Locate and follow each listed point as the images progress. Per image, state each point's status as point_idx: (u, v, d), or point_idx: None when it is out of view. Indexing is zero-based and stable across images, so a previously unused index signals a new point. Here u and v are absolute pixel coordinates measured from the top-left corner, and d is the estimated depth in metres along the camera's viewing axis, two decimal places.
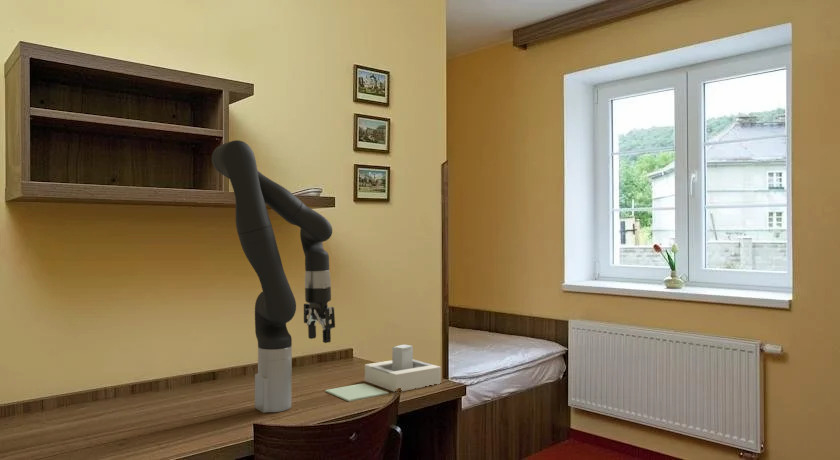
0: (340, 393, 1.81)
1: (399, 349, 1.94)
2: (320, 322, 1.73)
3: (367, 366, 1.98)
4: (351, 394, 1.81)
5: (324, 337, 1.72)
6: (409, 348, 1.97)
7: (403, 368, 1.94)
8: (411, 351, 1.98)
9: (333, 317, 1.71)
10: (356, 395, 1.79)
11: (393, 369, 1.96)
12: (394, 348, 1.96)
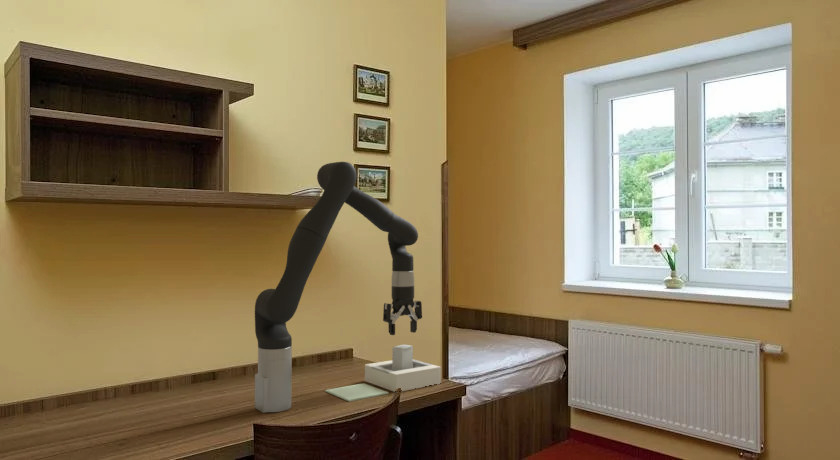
0: (340, 393, 1.81)
1: (399, 349, 1.94)
2: (414, 315, 1.98)
3: (367, 366, 1.98)
4: (351, 394, 1.81)
5: (415, 327, 2.00)
6: (409, 348, 1.97)
7: (403, 368, 1.94)
8: (411, 351, 1.98)
9: None
10: (356, 395, 1.79)
11: (393, 369, 1.96)
12: (394, 348, 1.96)
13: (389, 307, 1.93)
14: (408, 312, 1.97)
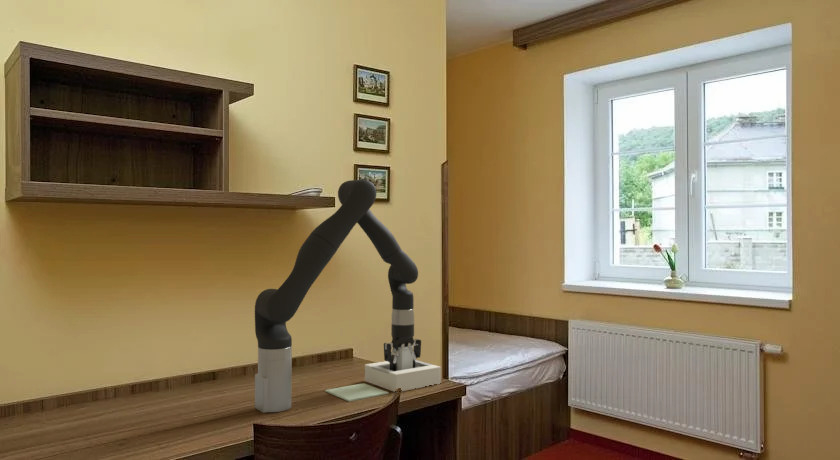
0: (340, 393, 1.81)
1: None
2: (413, 354, 1.98)
3: (367, 366, 1.98)
4: (351, 394, 1.81)
5: (413, 366, 1.99)
6: (409, 348, 1.97)
7: (403, 368, 1.94)
8: None
9: None
10: (356, 395, 1.79)
11: None
12: (394, 348, 1.96)
13: (389, 347, 1.93)
14: None
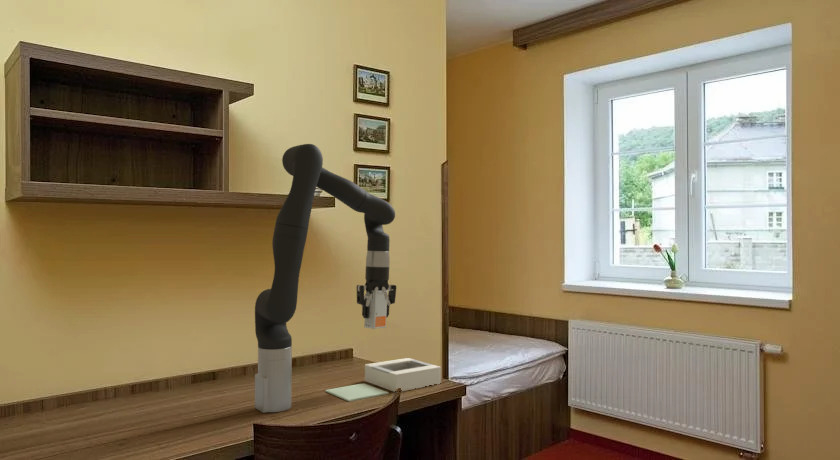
0: (340, 393, 1.81)
1: (373, 292, 1.87)
2: (387, 298, 1.91)
3: (367, 366, 1.98)
4: (351, 394, 1.81)
5: (387, 312, 1.91)
6: (383, 292, 1.89)
7: (376, 312, 1.87)
8: None
9: None
10: (356, 395, 1.79)
11: None
12: (368, 291, 1.88)
13: (362, 289, 1.85)
14: None
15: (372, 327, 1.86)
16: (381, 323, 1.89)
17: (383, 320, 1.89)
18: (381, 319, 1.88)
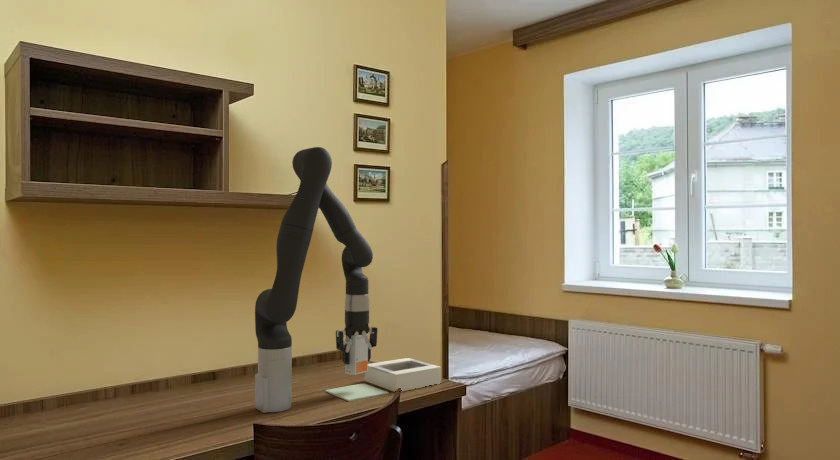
0: (340, 393, 1.81)
1: None
2: (368, 342, 1.85)
3: None
4: (351, 394, 1.81)
5: None
6: (364, 336, 1.84)
7: (357, 357, 1.81)
8: None
9: None
10: (356, 395, 1.79)
11: None
12: (347, 336, 1.82)
13: (341, 335, 1.79)
14: None
15: (353, 373, 1.81)
16: (362, 368, 1.83)
17: (364, 365, 1.84)
18: (362, 364, 1.83)
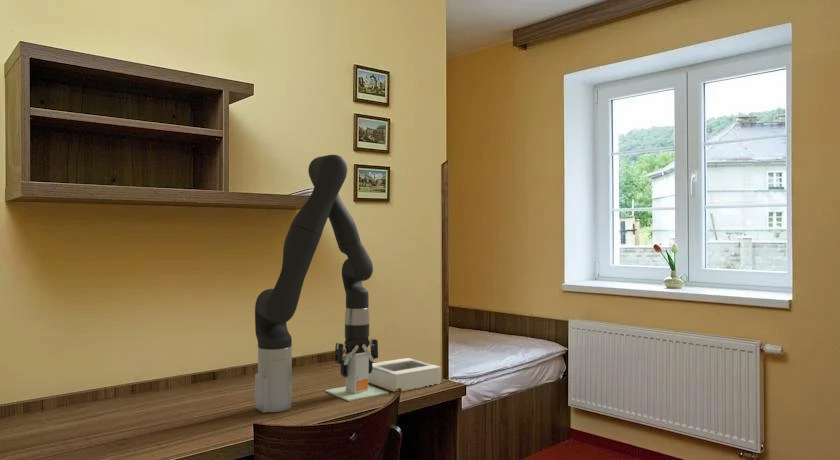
0: (340, 393, 1.81)
1: None
2: (369, 355, 1.85)
3: None
4: (351, 394, 1.81)
5: (370, 368, 1.86)
6: (364, 354, 1.84)
7: (357, 376, 1.81)
8: (367, 358, 1.84)
9: None
10: (356, 395, 1.79)
11: (347, 377, 1.83)
12: None
13: (341, 347, 1.79)
14: None
15: (353, 392, 1.81)
16: (362, 386, 1.83)
17: (365, 383, 1.84)
18: (362, 383, 1.83)
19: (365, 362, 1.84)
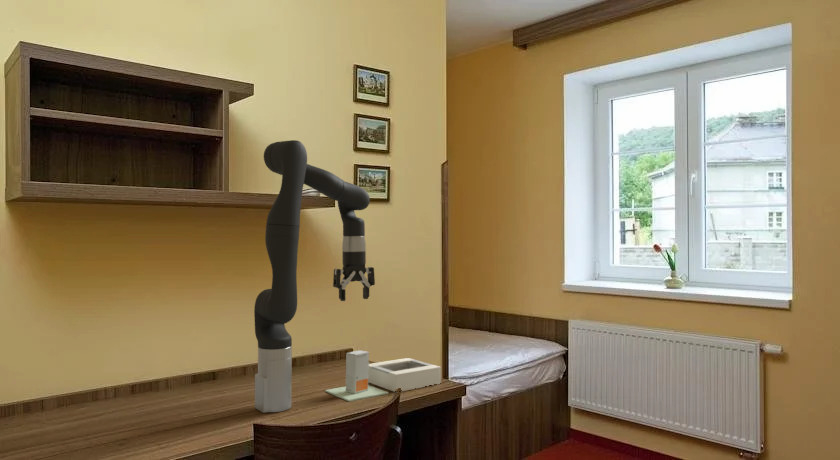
0: (340, 393, 1.81)
1: (352, 355, 1.81)
2: (366, 281, 1.95)
3: None
4: (351, 394, 1.81)
5: (367, 294, 1.96)
6: (364, 354, 1.84)
7: (357, 376, 1.81)
8: (367, 358, 1.84)
9: None
10: (356, 395, 1.79)
11: (347, 377, 1.83)
12: (348, 354, 1.83)
13: (339, 272, 1.90)
14: (359, 278, 1.94)
15: (353, 392, 1.81)
16: (362, 386, 1.83)
17: (365, 383, 1.84)
18: (362, 383, 1.83)
19: (365, 362, 1.84)
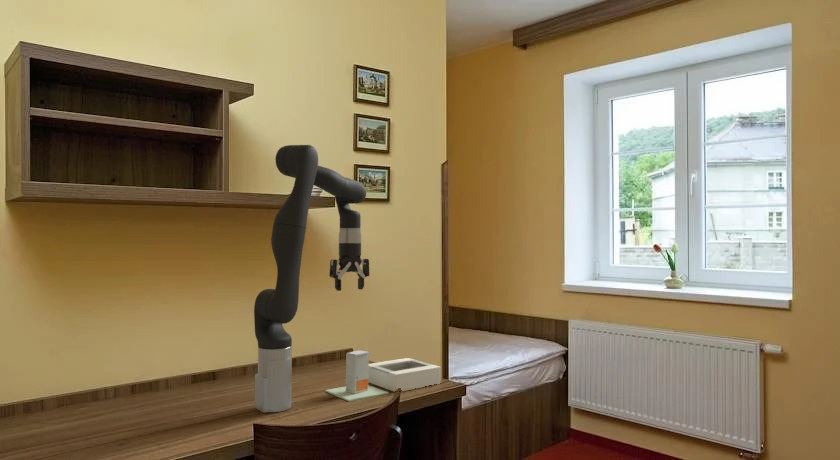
0: (340, 393, 1.81)
1: (352, 355, 1.81)
2: (361, 272, 2.02)
3: None
4: (351, 394, 1.81)
5: (362, 284, 2.03)
6: (364, 354, 1.84)
7: (357, 376, 1.81)
8: (367, 358, 1.84)
9: None
10: (356, 395, 1.79)
11: (347, 377, 1.83)
12: (348, 354, 1.83)
13: (335, 263, 1.96)
14: (355, 269, 2.01)
15: (353, 392, 1.81)
16: (362, 386, 1.83)
17: (365, 383, 1.84)
18: (362, 383, 1.83)
19: (365, 362, 1.84)
